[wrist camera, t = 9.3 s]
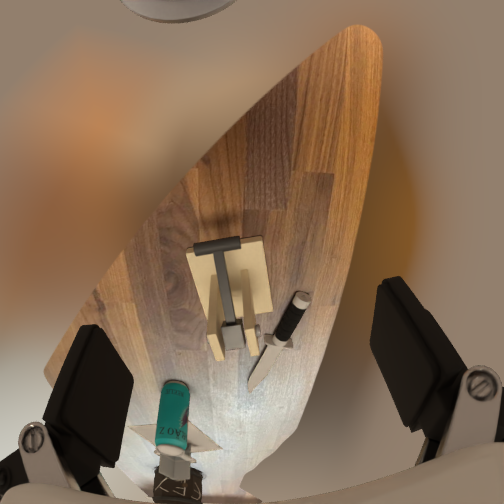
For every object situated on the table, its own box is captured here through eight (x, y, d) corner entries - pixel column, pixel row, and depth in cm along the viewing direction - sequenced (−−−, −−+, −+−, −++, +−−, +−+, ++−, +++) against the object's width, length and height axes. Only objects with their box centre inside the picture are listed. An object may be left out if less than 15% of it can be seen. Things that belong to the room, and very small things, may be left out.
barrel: (211, 469, 82) (212, 508, 69) (194, 480, 90) (193, 513, 76) (161, 459, 77) (158, 500, 63) (149, 470, 84) (146, 505, 71)
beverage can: (191, 394, 56) (188, 458, 43) (165, 393, 56) (157, 455, 43) (188, 379, 54) (183, 446, 41) (160, 377, 53) (150, 444, 40)
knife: (289, 298, 42) (320, 305, 43) (287, 288, 44) (316, 294, 45) (235, 397, 53) (260, 400, 54) (235, 387, 55) (259, 390, 57)
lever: (195, 243, 33) (191, 243, 31) (239, 235, 33) (238, 235, 31) (215, 344, 34) (213, 352, 32) (257, 338, 34) (257, 346, 32)
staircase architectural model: (187, 420, 62) (185, 461, 52) (223, 449, 72) (224, 483, 62) (127, 426, 64) (121, 463, 54) (168, 454, 74) (166, 486, 64)
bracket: (186, 248, 39) (172, 311, 28) (261, 235, 39) (274, 296, 28) (207, 315, 45) (204, 381, 34) (272, 305, 45) (284, 371, 34)
